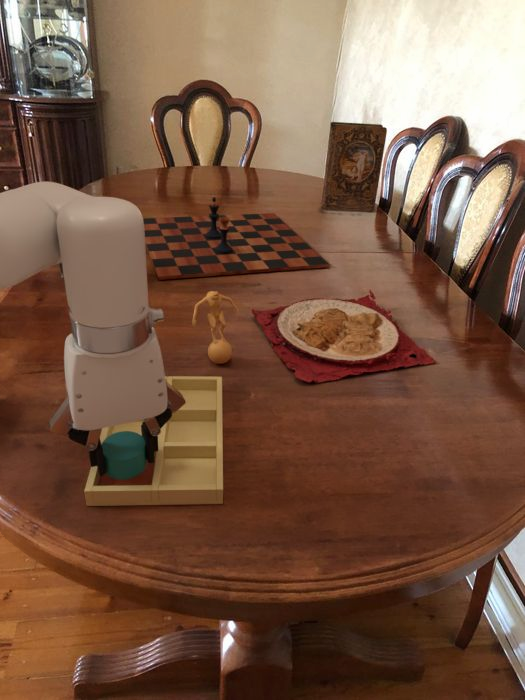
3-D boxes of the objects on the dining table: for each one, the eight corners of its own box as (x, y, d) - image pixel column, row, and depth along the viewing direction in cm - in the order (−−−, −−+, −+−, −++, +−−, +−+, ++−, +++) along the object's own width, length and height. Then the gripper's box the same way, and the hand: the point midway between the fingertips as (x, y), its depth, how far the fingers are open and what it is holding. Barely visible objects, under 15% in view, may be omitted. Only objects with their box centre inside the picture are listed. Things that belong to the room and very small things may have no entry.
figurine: (201, 373, 83) (201, 306, 77) (187, 355, 88) (185, 290, 82) (247, 362, 87) (250, 296, 81) (231, 345, 91) (233, 281, 85)
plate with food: (250, 318, 101) (250, 302, 99) (367, 301, 109) (370, 286, 107) (298, 389, 82) (300, 371, 80) (436, 363, 90) (440, 346, 88)
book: (322, 210, 165) (332, 124, 152) (319, 205, 169) (329, 121, 156) (373, 212, 166) (387, 127, 153) (370, 207, 170) (383, 124, 157)
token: (99, 480, 60) (96, 460, 58) (107, 449, 64) (105, 430, 62) (144, 479, 60) (142, 460, 59) (149, 449, 64) (147, 430, 63)
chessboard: (136, 222, 144) (133, 181, 139) (273, 216, 156) (276, 178, 150) (158, 281, 112) (156, 231, 107) (328, 268, 124) (334, 222, 118)
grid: (86, 506, 59) (84, 491, 58) (118, 388, 79) (117, 375, 78) (222, 504, 61) (223, 489, 60) (221, 389, 80) (222, 376, 79)
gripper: (183, 299, 58) (185, 426, 68) (16, 321, 52) (44, 458, 61) (204, 331, 53) (204, 464, 62) (20, 360, 46) (51, 504, 56)
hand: (124, 460), depth 62 cm, fingers closed on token, 5 cm apart
